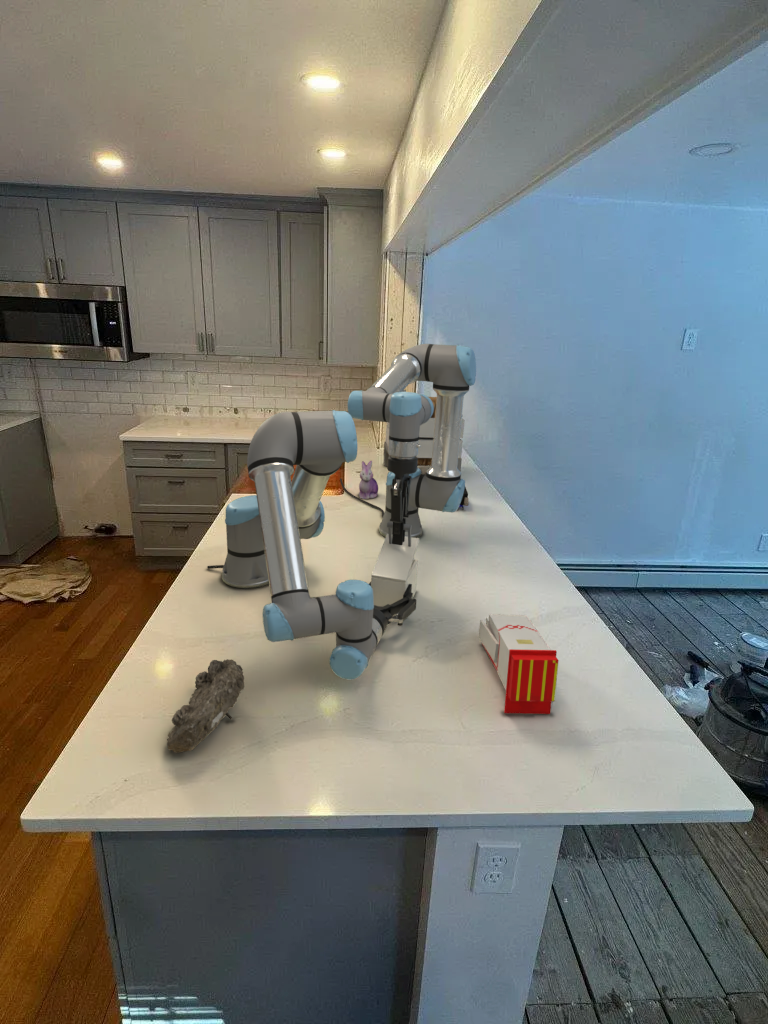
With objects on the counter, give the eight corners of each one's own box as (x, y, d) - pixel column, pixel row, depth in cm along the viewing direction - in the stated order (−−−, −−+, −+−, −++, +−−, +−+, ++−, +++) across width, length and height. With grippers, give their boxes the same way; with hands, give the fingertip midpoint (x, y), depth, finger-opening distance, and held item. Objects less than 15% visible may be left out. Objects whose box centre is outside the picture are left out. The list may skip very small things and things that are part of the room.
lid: (387, 536, 156) (385, 513, 151) (419, 540, 154) (419, 518, 149) (371, 577, 145) (368, 554, 139) (405, 582, 143) (404, 559, 137)
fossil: (192, 660, 117) (244, 628, 112) (224, 691, 120) (276, 661, 115) (142, 746, 98) (202, 712, 93) (182, 779, 101) (242, 748, 96)
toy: (524, 600, 137) (567, 656, 108) (520, 651, 140) (560, 720, 111) (474, 599, 137) (504, 655, 107) (471, 650, 140) (498, 719, 110)
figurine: (363, 500, 232) (364, 465, 227) (352, 493, 240) (353, 459, 235) (383, 498, 236) (385, 463, 231) (372, 491, 244) (373, 457, 239)
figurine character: (468, 514, 225) (463, 498, 239) (470, 497, 222) (465, 482, 235) (451, 514, 225) (447, 498, 238) (453, 497, 222) (449, 481, 235)
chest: (384, 586, 162) (386, 554, 158) (415, 591, 160) (418, 559, 156) (369, 611, 148) (371, 577, 145) (403, 617, 146) (405, 583, 142)
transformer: (382, 463, 289) (386, 382, 275) (445, 464, 293) (451, 384, 279) (390, 482, 257) (394, 392, 243) (460, 483, 261) (468, 394, 247)
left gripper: (321, 634, 132) (352, 591, 153) (413, 651, 127) (431, 605, 147) (322, 606, 130) (352, 566, 150) (415, 622, 124) (433, 579, 145)
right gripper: (411, 464, 134) (405, 555, 142) (423, 450, 147) (417, 534, 155) (380, 461, 136) (377, 551, 144) (395, 447, 149) (391, 530, 157)
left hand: (391, 585), depth 149 cm, fingers closed on chest, 9 cm apart
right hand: (398, 542), depth 150 cm, fingers closed on lid, 2 cm apart
